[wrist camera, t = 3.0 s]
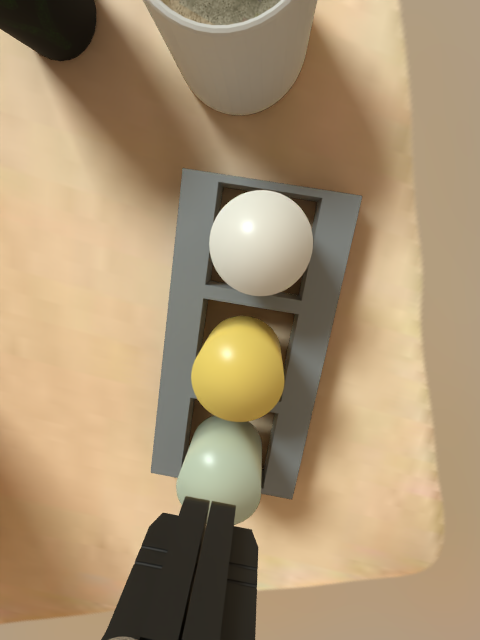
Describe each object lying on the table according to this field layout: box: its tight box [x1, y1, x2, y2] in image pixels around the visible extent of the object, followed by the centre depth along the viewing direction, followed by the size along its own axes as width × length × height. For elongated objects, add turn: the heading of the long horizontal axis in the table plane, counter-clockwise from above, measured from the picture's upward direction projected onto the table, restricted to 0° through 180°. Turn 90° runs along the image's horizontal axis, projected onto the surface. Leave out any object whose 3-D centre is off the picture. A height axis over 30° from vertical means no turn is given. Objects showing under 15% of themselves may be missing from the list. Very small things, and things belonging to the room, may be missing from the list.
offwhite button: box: [209, 190, 313, 296], centre depth 21 cm, size 6×6×5 cm
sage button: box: [176, 416, 262, 525], centre depth 25 cm, size 6×6×5 cm
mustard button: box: [191, 316, 284, 422], centre depth 23 cm, size 6×6×5 cm
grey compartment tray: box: [151, 168, 362, 499], centre depth 27 cm, size 24×12×2 cm, turn 171°
